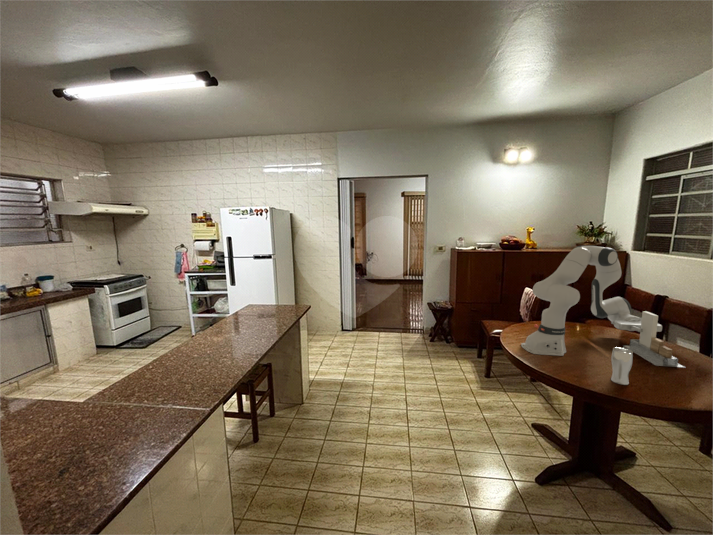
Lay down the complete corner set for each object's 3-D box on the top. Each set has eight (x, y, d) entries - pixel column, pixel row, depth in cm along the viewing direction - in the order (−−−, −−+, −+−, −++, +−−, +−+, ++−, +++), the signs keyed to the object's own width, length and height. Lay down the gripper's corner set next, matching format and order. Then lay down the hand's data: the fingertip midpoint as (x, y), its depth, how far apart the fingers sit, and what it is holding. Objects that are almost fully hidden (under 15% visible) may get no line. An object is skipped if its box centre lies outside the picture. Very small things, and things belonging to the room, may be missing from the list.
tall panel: (649, 355, 152) (653, 315, 149) (638, 349, 160) (642, 311, 157) (653, 355, 151) (658, 315, 149) (642, 349, 159) (647, 311, 156)
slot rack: (655, 368, 141) (656, 357, 141) (622, 347, 165) (623, 338, 165) (685, 370, 138) (687, 359, 138) (647, 349, 162) (648, 340, 162)
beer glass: (633, 383, 128) (636, 351, 126) (624, 386, 126) (627, 354, 124) (615, 376, 135) (617, 346, 133) (606, 379, 132) (608, 348, 130)
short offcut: (665, 364, 141) (667, 349, 140) (657, 360, 146) (659, 345, 145) (670, 365, 141) (672, 349, 140) (662, 360, 146) (664, 345, 145)
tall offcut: (657, 359, 147) (659, 341, 145) (649, 355, 151) (651, 337, 150) (661, 360, 146) (664, 341, 145) (654, 356, 151) (656, 338, 150)
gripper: (609, 316, 170) (624, 324, 157) (651, 318, 165) (670, 326, 152) (608, 326, 171) (623, 335, 157) (650, 328, 166) (669, 337, 152)
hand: (647, 330), depth 155 cm, fingers open, 4 cm apart
